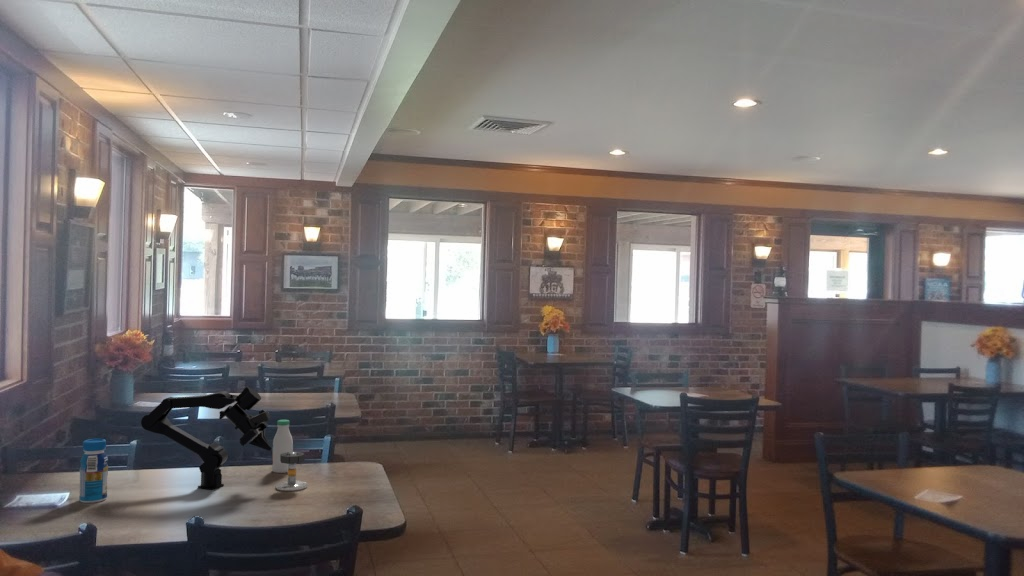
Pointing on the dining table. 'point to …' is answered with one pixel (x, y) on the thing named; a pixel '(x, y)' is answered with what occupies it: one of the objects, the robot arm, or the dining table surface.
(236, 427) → the robot arm
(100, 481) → the beverage bottle
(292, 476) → the pipe stand
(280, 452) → the milk bottle
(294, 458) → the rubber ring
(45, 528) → the dining table surface
